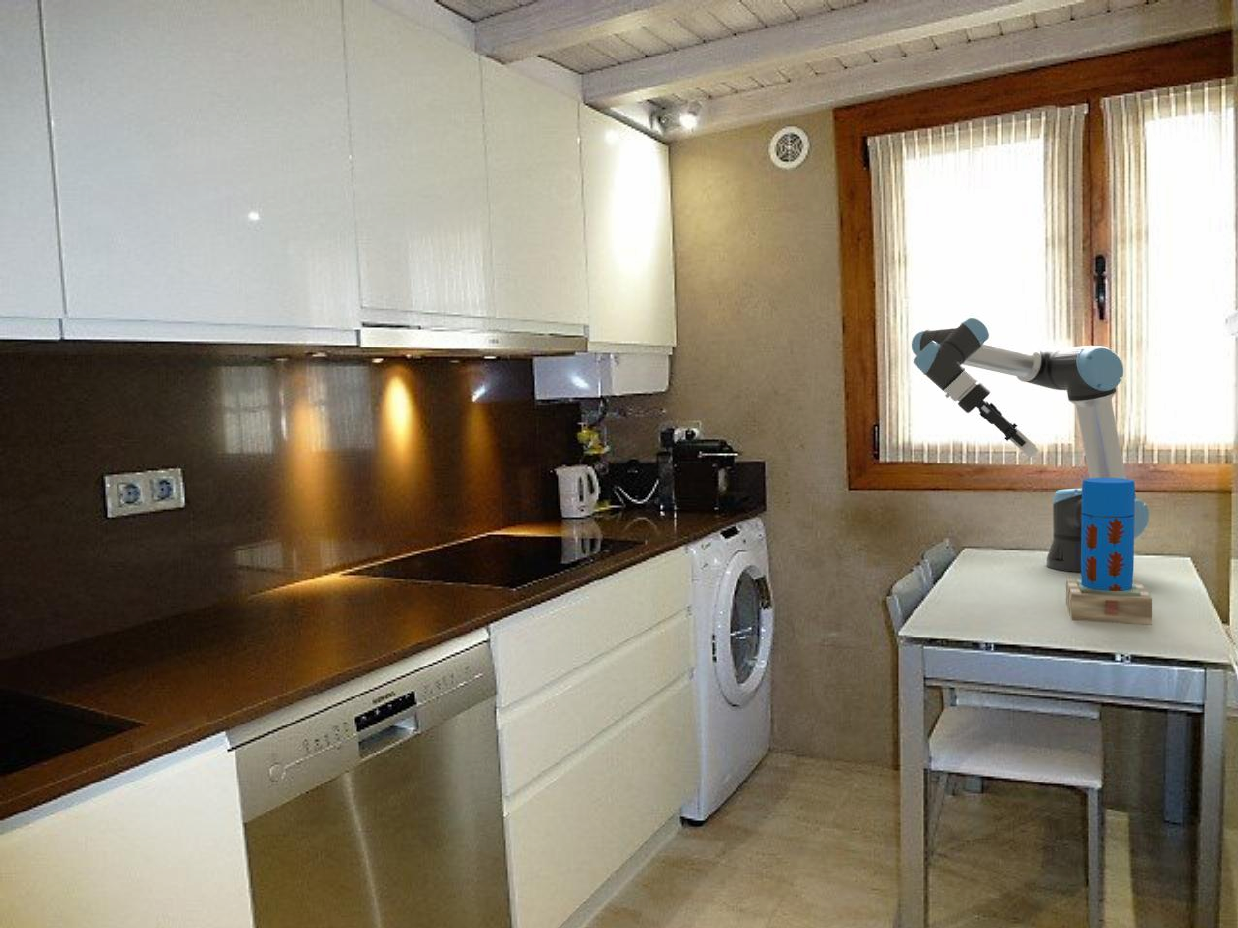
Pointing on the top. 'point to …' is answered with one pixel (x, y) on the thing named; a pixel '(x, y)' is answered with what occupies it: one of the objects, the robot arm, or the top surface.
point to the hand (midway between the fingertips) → (1033, 451)
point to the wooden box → (1108, 604)
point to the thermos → (1107, 533)
